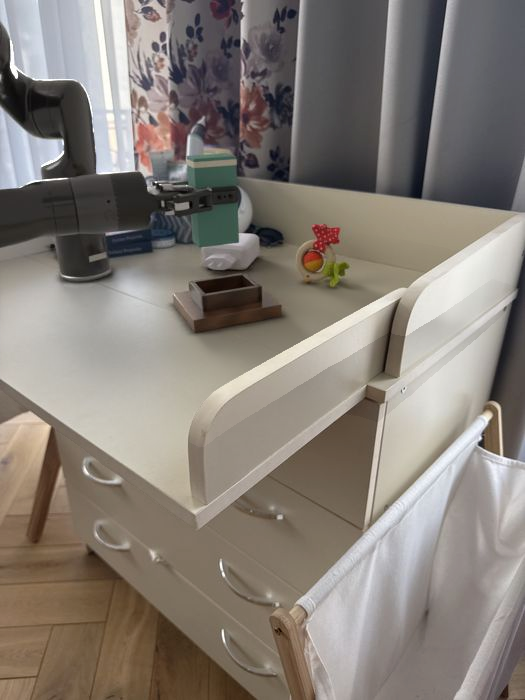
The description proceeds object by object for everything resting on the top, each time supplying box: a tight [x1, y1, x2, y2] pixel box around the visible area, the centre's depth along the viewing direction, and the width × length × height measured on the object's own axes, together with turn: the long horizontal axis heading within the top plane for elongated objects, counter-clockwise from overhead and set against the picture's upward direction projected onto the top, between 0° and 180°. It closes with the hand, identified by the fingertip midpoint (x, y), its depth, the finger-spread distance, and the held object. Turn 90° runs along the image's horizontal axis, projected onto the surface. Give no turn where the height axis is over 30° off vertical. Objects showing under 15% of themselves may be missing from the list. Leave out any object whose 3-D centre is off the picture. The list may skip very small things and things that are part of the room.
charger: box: [200, 232, 260, 271], centre depth 105 cm, size 5×9×15 cm
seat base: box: [172, 272, 282, 333], centre depth 86 cm, size 14×12×4 cm
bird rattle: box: [295, 223, 350, 288], centre depth 95 cm, size 6×11×9 cm
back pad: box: [185, 152, 240, 249], centre depth 77 cm, size 6×4×12 cm, turn 113°
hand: (231, 191), depth 77 cm, fingers closed on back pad, 3 cm apart
